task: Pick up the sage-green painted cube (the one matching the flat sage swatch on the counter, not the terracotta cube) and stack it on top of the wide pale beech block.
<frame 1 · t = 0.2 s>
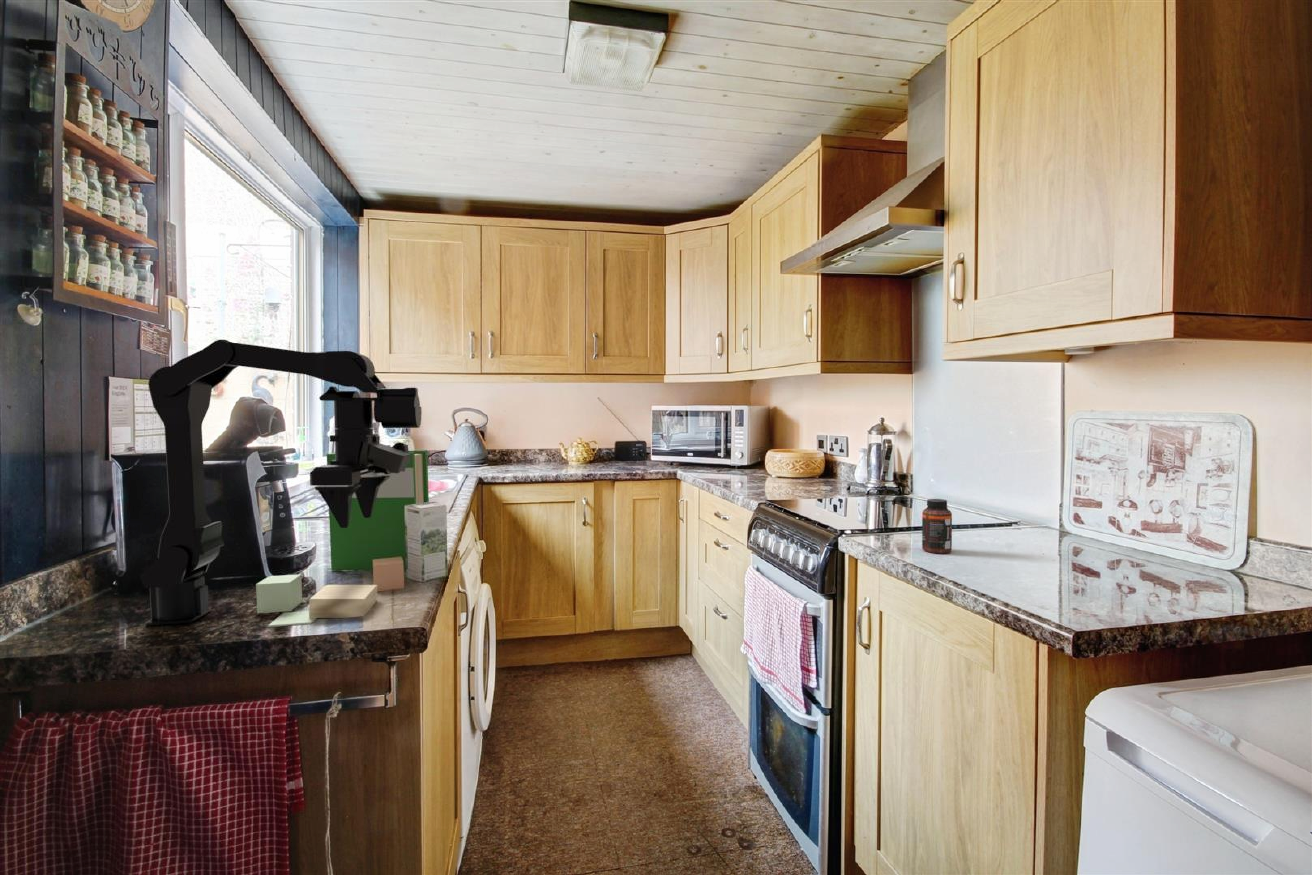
hand: (356, 522, 105), 14 cm above the worktop, tool pointing down, fingers open, 9 cm apart
sage swatch: (297, 619, 99), on the worktop
supplement bottle: (936, 552, 138), on the worktop
beech block: (344, 609, 103), on the worktop, touching sage swatch
syrup box: (427, 578, 122), on the worktop
terracotta cube: (388, 587, 116), on the worktop
sage cube: (280, 608, 105), on the worktop
hardback book: (382, 567, 132), on the worktop
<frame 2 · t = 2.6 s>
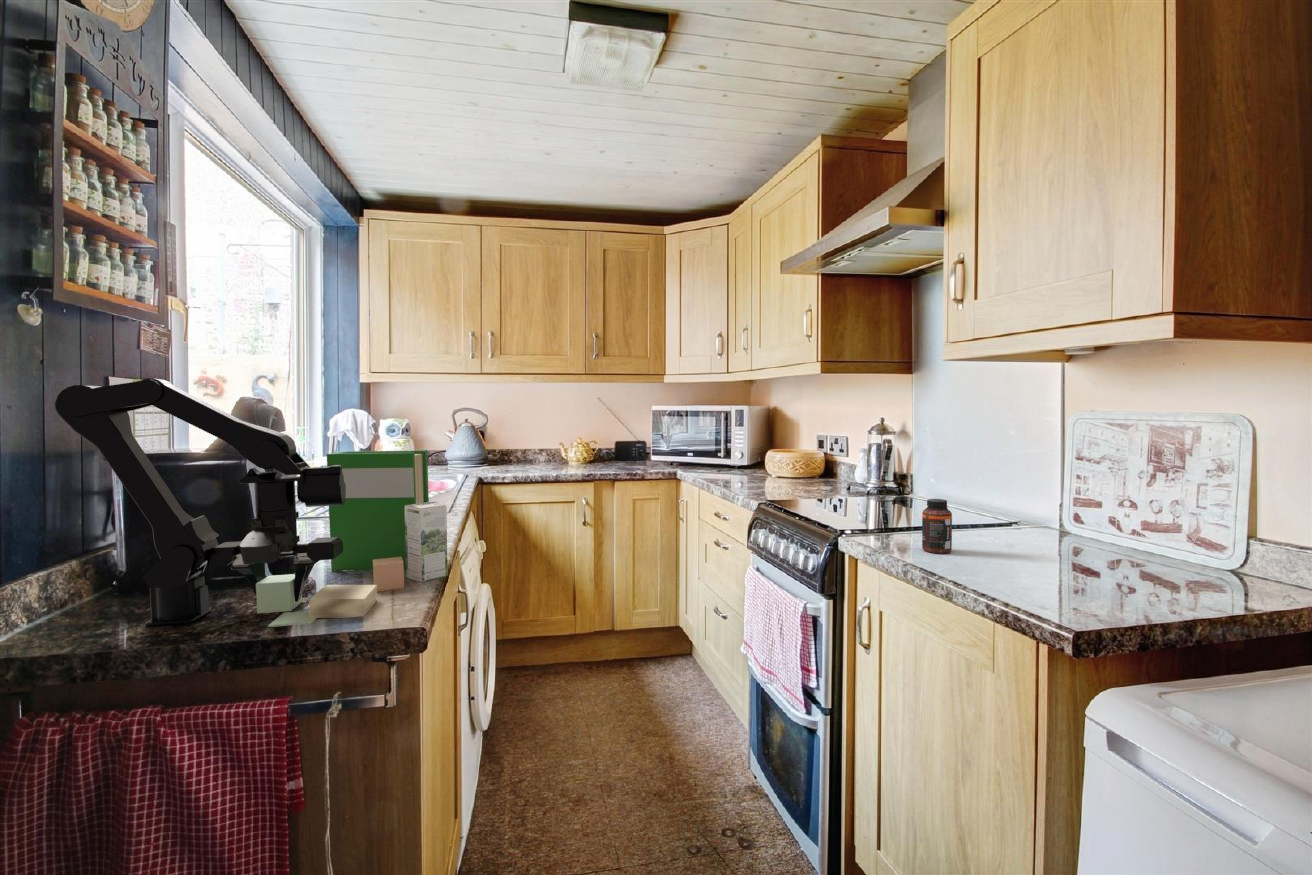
hand: (280, 602, 105), 1 cm above the worktop, tool pointing down, fingers closed on sage cube, 5 cm apart
sage cube: (280, 608, 105), on the worktop, touching gripper
everything else where it was.
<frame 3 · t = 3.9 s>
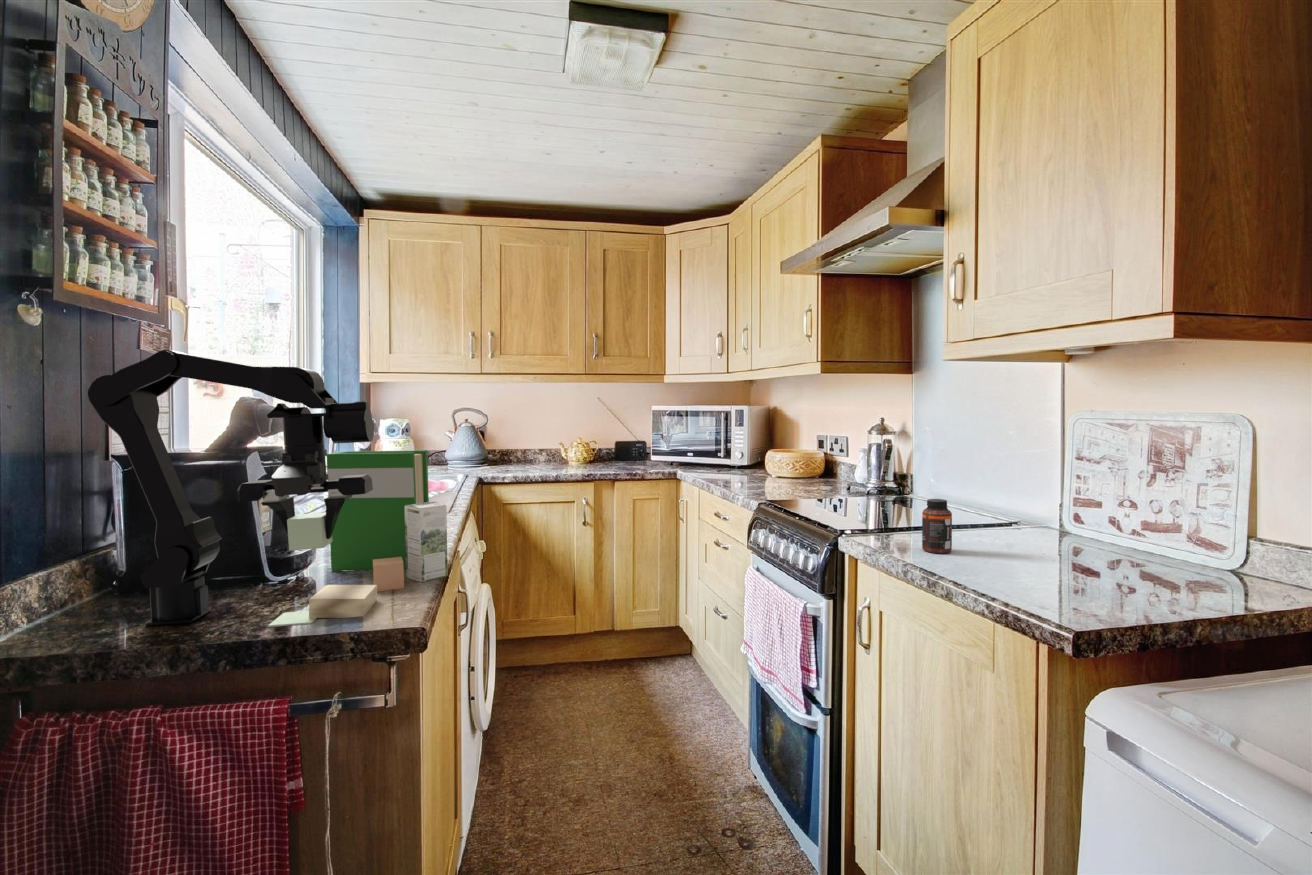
hand: (311, 539, 103), 12 cm above the worktop, tool pointing down, fingers closed on sage cube, 5 cm apart
sage cube: (311, 545, 104), point 11 cm above the worktop, touching gripper
everything else where it was.
when the fingers open (5 cm above the worktop, at t = 5.7 s): sage cube stays where it is, resting on beech block.
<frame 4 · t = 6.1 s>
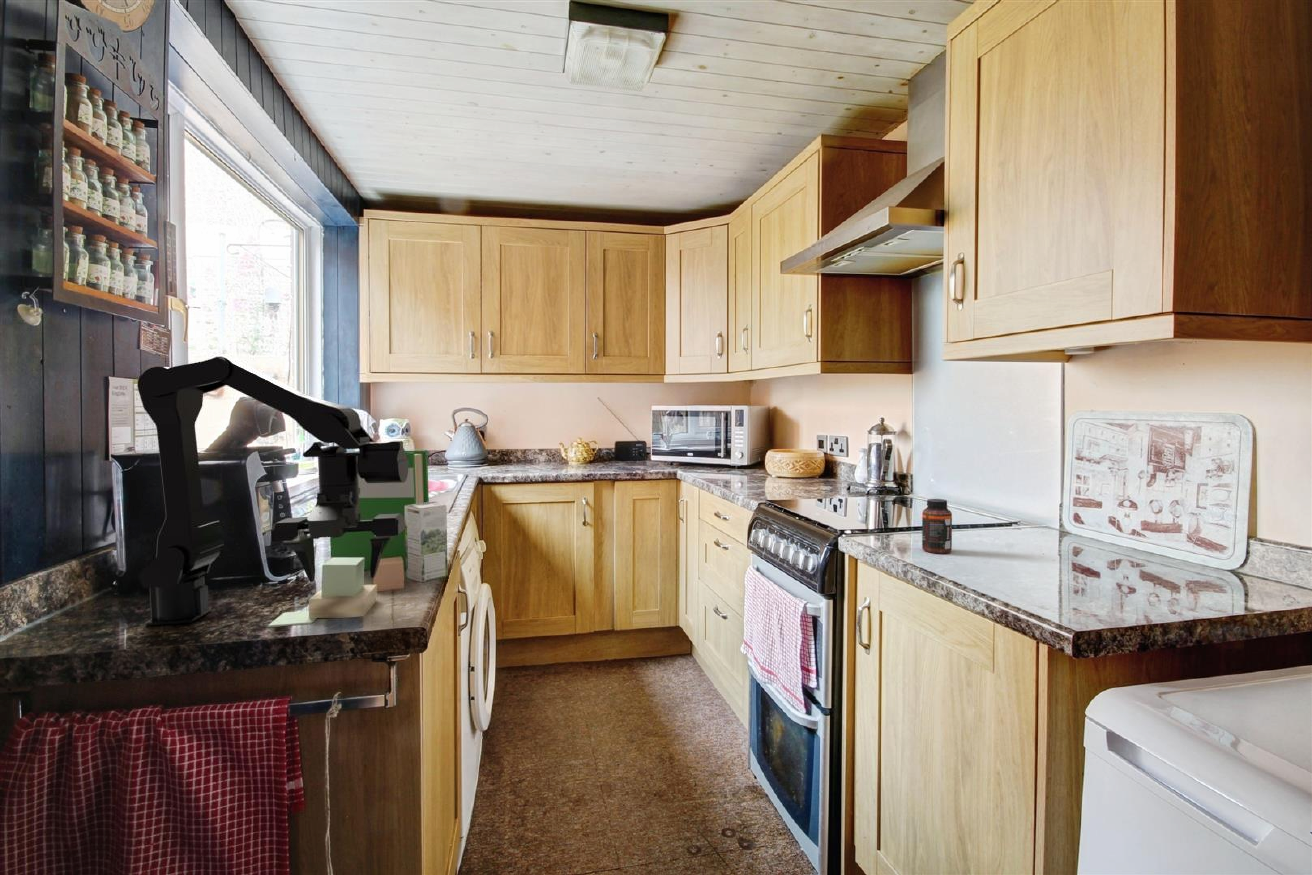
hand: (342, 579, 102), 5 cm above the worktop, tool pointing down, fingers open, 9 cm apart
beech block: (343, 609, 103), on the worktop, touching sage cube, sage swatch
sage cube: (343, 591, 103), point 3 cm above the worktop, touching beech block
everything else where it was.
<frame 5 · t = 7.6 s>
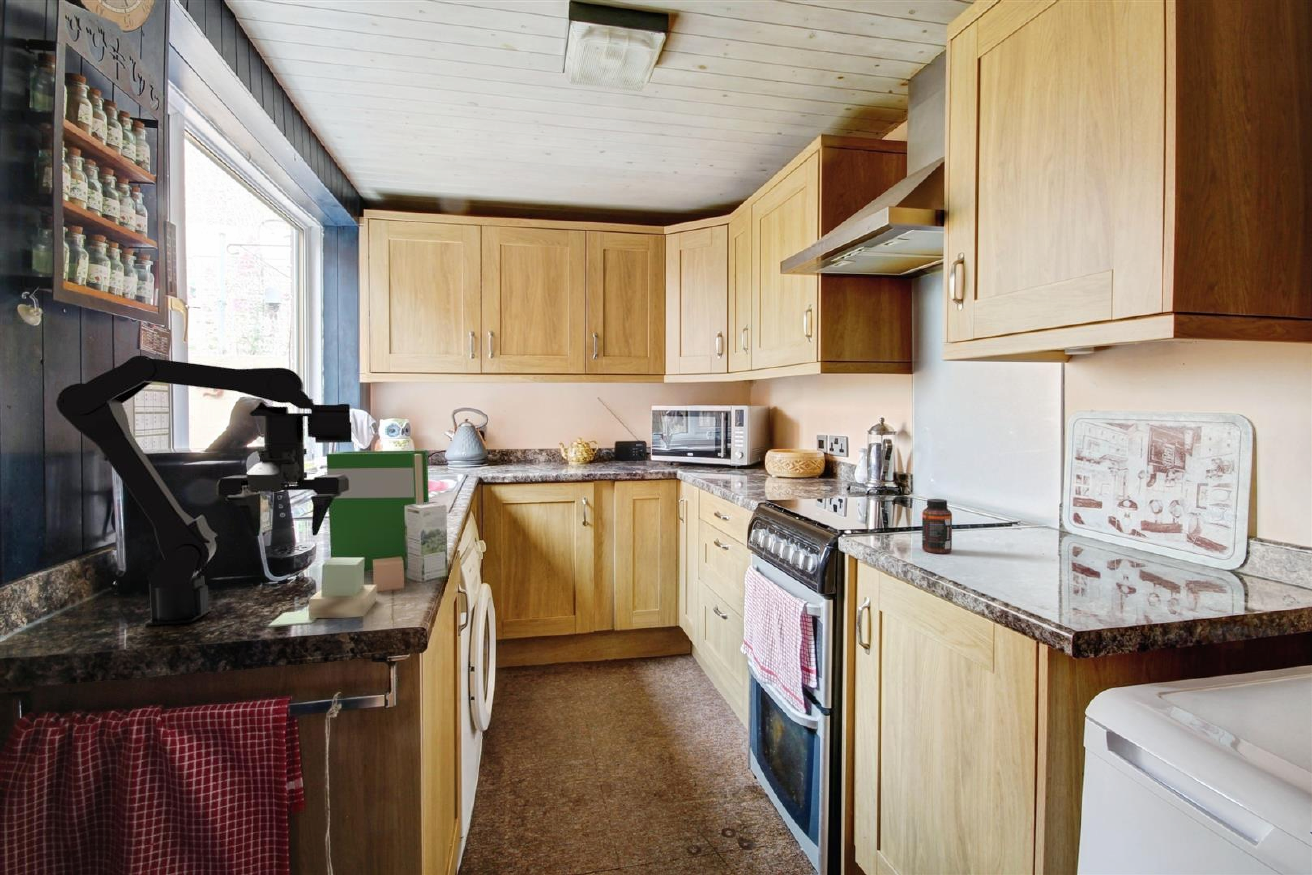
hand: (285, 535, 106), 12 cm above the worktop, tool pointing down, fingers open, 9 cm apart
nothing on the worktop moved.
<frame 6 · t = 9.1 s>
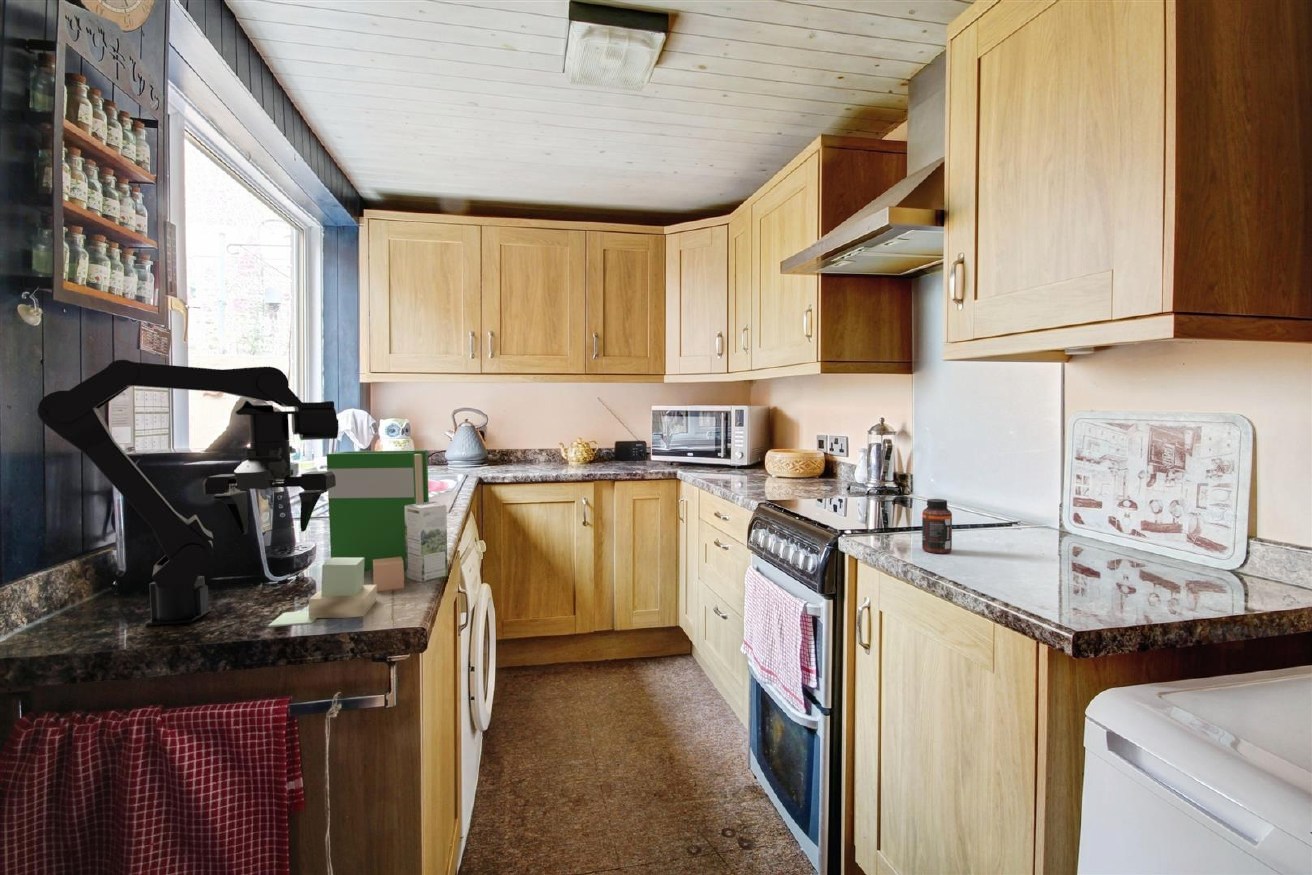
hand: (274, 532, 108), 12 cm above the worktop, tool pointing down, fingers open, 9 cm apart
nothing on the worktop moved.
at the end: sage cube 0.1 cm off-centre on the beech block, point 3.0 cm above the beech block's base; sage cube tilted 4°; the gripper is holding nothing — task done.
